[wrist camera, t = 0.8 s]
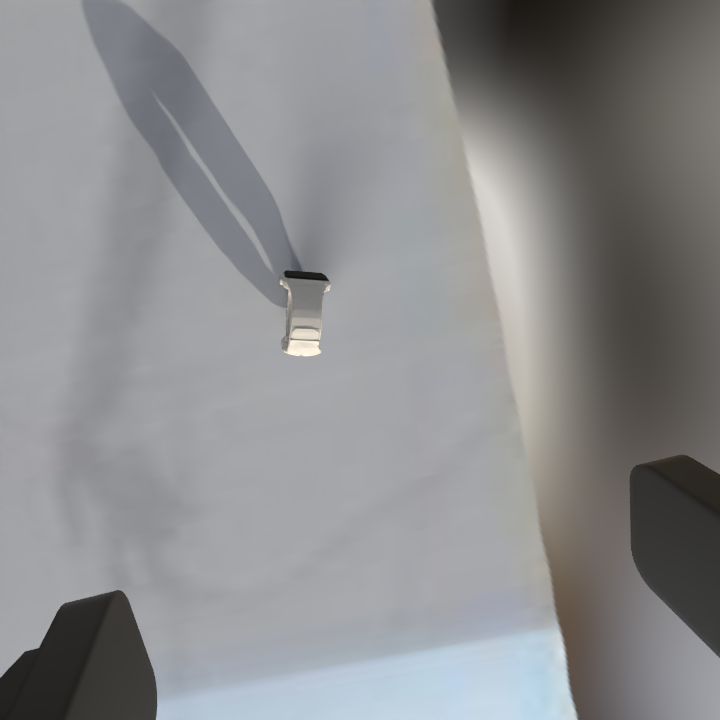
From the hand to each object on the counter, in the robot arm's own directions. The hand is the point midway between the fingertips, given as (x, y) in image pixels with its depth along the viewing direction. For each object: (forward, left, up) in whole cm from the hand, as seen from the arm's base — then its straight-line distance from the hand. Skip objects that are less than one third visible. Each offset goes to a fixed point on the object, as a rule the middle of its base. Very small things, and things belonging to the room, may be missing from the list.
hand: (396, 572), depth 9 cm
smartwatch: (-1, 0, -19) cm, 19 cm away
